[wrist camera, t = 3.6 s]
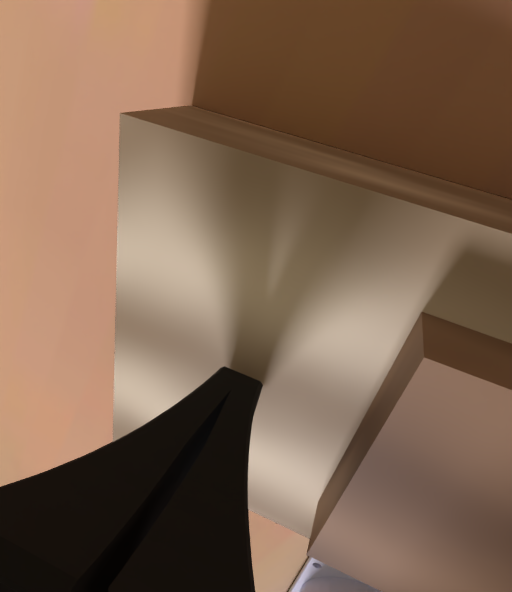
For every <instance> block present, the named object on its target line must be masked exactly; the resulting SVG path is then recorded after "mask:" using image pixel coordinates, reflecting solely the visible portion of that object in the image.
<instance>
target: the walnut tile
mask: <svg viewBox="0 0 512 592" xmlns="http://www.w3.org/2000/svg"><path fill="white" fill-rule="evenodd" d="M307 555H308V556H310V557H312V558H314V559H316V560H318V561H320V562H322V563H324V564H326V565H328V566H330V567H332V568H334V569H337V570H339V571H341V572H343V573H345V574H347V575H349V576H351V577H353V578H355V579H357V580H359V581H361V582H363V583H365V584H367V585H369V586H371V587H373V588H376V589H378V590H380V591H382V592H512V343H509V342H506V341H503V340H500V339H498V338H495V337H492V336H489V335H486V334H483V333H481V332H478V331H475V330H472V329H469V328H467V327H464V326H461V325H458V324H455V323H452V322H450V321H447V320H444V319H441V318H438V317H436V316H433V315H430V314H427V313H424V312H421V313H420V315H419V317H418V319H417V321H416V323H415V324H414V326H413V328H412V330H411V332H410V334H409V336H408V337H407V339H406V341H405V343H404V345H403V347H402V348H401V350H400V352H399V354H398V356H397V358H396V359H395V361H394V363H393V365H392V367H391V369H390V370H389V372H388V374H387V376H386V378H385V380H384V381H383V383H382V385H381V387H380V389H379V391H378V392H377V394H376V396H375V398H374V400H373V402H372V403H371V405H370V407H369V409H368V411H367V413H366V414H365V416H364V418H363V420H362V422H361V424H360V425H359V427H358V429H357V431H356V433H355V435H354V437H353V438H352V440H351V442H350V444H349V446H348V448H347V449H346V451H345V453H344V455H343V457H342V459H341V460H340V462H339V464H338V466H337V468H336V470H335V471H334V473H333V475H332V477H331V479H330V481H329V482H328V484H327V486H326V488H325V490H324V492H323V493H322V495H321V497H320V499H319V501H318V504H317V509H316V513H315V518H314V522H313V527H312V532H311V536H310V541H309V546H308V550H307Z"/></svg>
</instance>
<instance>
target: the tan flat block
mask: <svg viewBox="0 0 512 592" xmlns="http://www.w3.org/2000/svg"><path fill="white" fill-rule="evenodd" d="M421 312H424V313H427V314H430V315H433V316H436V317H438V318H441V319H444V320H447V321H450V322H452V323H455V324H458V325H461V326H464V327H467V328H469V329H472V330H475V331H478V332H481V333H483V334H486V335H489V336H492V337H495V338H498V339H500V340H503V341H506V342H509V343H512V200H511V199H508V198H504V197H501V196H497V195H494V194H491V193H487V192H484V191H480V190H477V189H474V188H470V187H467V186H463V185H460V184H457V183H453V182H450V181H446V180H443V179H440V178H436V177H433V176H429V175H426V174H423V173H419V172H416V171H412V170H409V169H406V168H402V167H399V166H395V165H392V164H388V163H385V162H382V161H378V160H375V159H371V158H368V157H365V156H361V155H358V154H354V153H351V152H348V151H344V150H341V149H337V148H334V147H331V146H327V145H324V144H320V143H317V142H314V141H310V140H307V139H303V138H300V137H297V136H293V135H290V134H286V133H283V132H280V131H276V130H273V129H269V128H266V127H263V126H259V125H256V124H252V123H249V122H246V121H242V120H239V119H235V118H232V117H229V116H225V115H222V114H218V113H215V112H211V111H208V110H205V109H201V108H198V107H194V106H181V107H172V108H163V109H153V110H144V111H135V112H125V113H120V135H119V180H118V226H117V271H116V317H115V362H114V408H113V441H115V440H117V439H119V438H121V437H123V436H125V435H127V434H128V433H130V432H132V431H134V430H136V429H137V428H139V427H141V426H142V425H144V424H146V423H147V422H149V421H151V420H152V419H154V418H155V417H157V416H158V415H160V414H161V413H163V412H165V411H166V410H168V409H169V408H171V407H172V406H174V405H175V404H176V403H178V402H179V401H180V400H182V399H183V398H185V397H186V396H187V395H189V394H190V393H191V392H193V391H194V390H195V389H196V388H198V387H199V386H200V385H201V384H203V383H204V382H205V381H206V380H208V379H209V378H210V377H211V376H212V375H213V374H214V373H216V372H217V371H218V370H219V369H220V368H221V367H224V366H225V367H227V368H230V369H232V370H235V371H237V372H239V373H242V374H244V375H247V376H249V377H252V378H254V379H256V380H259V381H261V383H262V385H263V387H262V390H261V393H260V397H259V400H258V403H257V406H256V410H255V413H254V416H253V422H252V429H251V438H250V447H249V463H248V510H250V511H252V512H254V513H257V514H259V515H261V516H263V517H265V518H267V519H269V520H271V521H273V522H275V523H277V524H280V525H282V526H284V527H286V528H288V529H290V530H292V531H294V532H296V533H298V534H300V535H302V536H305V537H307V538H309V539H310V536H311V532H312V527H313V522H314V518H315V513H316V509H317V504H318V501H319V499H320V497H321V495H322V493H323V492H324V490H325V488H326V486H327V484H328V482H329V481H330V479H331V477H332V475H333V473H334V471H335V470H336V468H337V466H338V464H339V462H340V460H341V459H342V457H343V455H344V453H345V451H346V449H347V448H348V446H349V444H350V442H351V440H352V438H353V437H354V435H355V433H356V431H357V429H358V427H359V425H360V424H361V422H362V420H363V418H364V416H365V414H366V413H367V411H368V409H369V407H370V405H371V403H372V402H373V400H374V398H375V396H376V394H377V392H378V391H379V389H380V387H381V385H382V383H383V381H384V380H385V378H386V376H387V374H388V372H389V370H390V369H391V367H392V365H393V363H394V361H395V359H396V358H397V356H398V354H399V352H400V350H401V348H402V347H403V345H404V343H405V341H406V339H407V337H408V336H409V334H410V332H411V330H412V328H413V326H414V324H415V323H416V321H417V319H418V317H419V315H420V313H421Z"/></svg>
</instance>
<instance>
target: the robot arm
mask: <svg viewBox="0 0 512 592" xmlns="http://www.w3.org/2000/svg"><path fill="white" fill-rule="evenodd" d="M262 387H263V385H262V383H261V381H259V380H256V379H254V378H252V377H249V376H247V375H244V374H242V373H239V372H237V371H235V370H232V369H230V368H227V367H225V366H224V367H221V368H220V369H219V370H218V371H217V372H216V373H214V374H213V375H212V376H211V377H210V378H209V379H208V380H206V381H205V382H204V383H203V384H201V385H200V386H199V387H198V388H196V389H195V390H194V391H193V392H191V393H190V394H189V395H187V396H186V397H185V398H183V399H182V400H180V401H179V402H178V403H176V404H175V405H174V406H172V407H171V408H169V409H168V410H166V411H165V412H163V413H161V414H160V415H158V416H157V417H155V418H154V419H152V420H151V421H149V422H147V423H146V424H144V425H142V426H141V427H139V428H137V429H136V430H134V431H132V432H130V433H128V434H127V435H125V436H123V437H121V438H119V439H117V440H115V441H113V442H111V443H109V444H107V445H105V446H103V447H101V448H99V449H97V450H95V451H93V452H91V453H89V454H86V455H84V456H82V457H80V458H77V459H75V460H72V461H70V462H67V463H65V464H63V465H60V466H58V467H55V468H53V469H50V470H48V471H45V472H43V473H40V474H37V475H34V476H31V477H28V478H25V479H22V480H19V481H16V482H13V483H10V484H7V485H4V486H1V487H0V592H255V586H254V578H253V569H252V559H251V546H250V534H249V517H248V463H249V447H250V438H251V429H252V422H253V416H254V413H255V410H256V406H257V403H258V400H259V397H260V393H261V390H262ZM288 592H382V591H380V590H378V589H376V588H373V587H371V586H369V585H367V584H365V583H363V582H361V581H359V580H357V579H355V578H353V577H351V576H349V575H347V574H345V573H343V572H341V571H339V570H337V569H334V568H332V567H330V566H328V565H326V564H324V563H322V562H320V561H318V560H316V559H314V558H312V557H309V558H308V560H307V562H306V563H305V565H304V567H303V568H302V570H301V572H300V573H299V575H298V577H297V578H296V580H295V581H294V583H293V585H292V586H291V588H290V590H289V591H288Z"/></svg>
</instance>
